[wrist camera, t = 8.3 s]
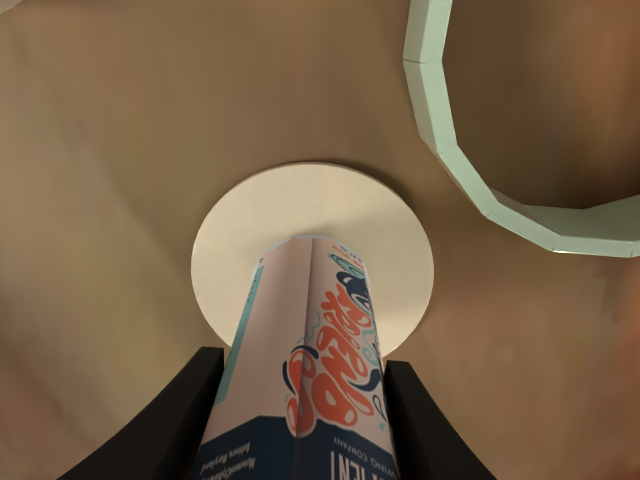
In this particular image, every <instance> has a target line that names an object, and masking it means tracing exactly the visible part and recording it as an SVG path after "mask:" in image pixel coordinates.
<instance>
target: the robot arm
mask: <svg viewBox="0 0 640 480" xmlns="http://www.w3.org/2000/svg"><path fill="white" fill-rule="evenodd" d="M223 372H224V348H217V347H204V346H203V347H201V348H200V349H199V350H198V351H197V352H196V353H195V355H194V356H193V357H192V358H191V359H190V360H189V362H188V363H187V364H186V365H185V366H184V367H183V368H182V370H181V371H180V372H179V373H178V374H177V375H176V376H175V377H174V378H173V379H172V381H171V382H170V383H169V384H168V385H167V386H166V387H165V388H164V389H163V390H162V391H161V392H160V393H159V394H158V395H157V396H156V397H155V398H154V399H153V400H152V401H151V402H150V403H149V404H148V405H147V406H146V407H145V408H144V409H143V410H142V411H141V412H140V413H139V414H137V415H136V416H135V417H134V418H133V419H132V420H131V421H130V422H129V423H128V424H127V425H126V426H124V427H123V428H122V429H121V430H120V431H119V432H118V433H116V434H115V435H114V436H113V437H112V438H111V439H109V440H108V441H107V442H106V443H104V444H103V445H102V446H101V447H99V448H98V449H97V450H96V451H94V452H93V453H92V454H90V455H89V456H88V457H86V458H85V459H84V460H82V461H81V462H80V463H78V464H77V465H76V466H74V467H73V468H72V469H70V470H69V471H68V472H66V473H65V474H63V475H62V476H61V477H59V478H58V479H56V480H188V479H189V476H190V473H191V470H192V467H193V464H194V461H195V457H196V454H197V451H198V448H199V445H200V442H201V439H202V436H203V433H204V430H205V427H206V424H207V421H208V418H209V415H210V411H211V408H212V405H213V402H214V399H215V396H216V393H217V390H218V387H219V384H220V381H221V378H222V375H223ZM384 380H385V386H386V392H387V398H388V404H389V409H390V414H391V419H392V425H393V430H394V435H395V440H396V446H397V452H398V458H399V463H400V469H401V475H402V480H497V479H496V478H495V477H494V476H493V475H492V474H491V472H490V471H489V470H488V469H487V468H486V467H485V466H484V465H483V464H482V462H481V461H480V460H479V459H478V458H477V457H476V456H475V454H474V453H473V452H472V451H471V450H470V448H469V447H468V446H467V445H466V443H465V442H464V441H463V440H462V438H461V437H460V436H459V435H458V433H457V432H456V431H455V429H454V428H453V427H452V426H451V424H450V423H449V421H448V420H447V419H446V417H445V416H444V415H443V413H442V412H441V410H440V409H439V408H438V406H437V405H436V403H435V402H434V400H433V399H432V397H431V396H430V394H429V393H428V391H427V390H426V388H425V387H424V385H423V384H422V382H421V381H420V379H419V378H418V376H417V374H416V373H415V371H414V369H413V368H412V366H411V365H410V364H409V362H404V361H391V360H387V363H386V369H385V374H384Z"/></svg>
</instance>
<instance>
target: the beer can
mask: <svg viewBox="0 0 640 480" xmlns="http://www.w3.org/2000/svg"><path fill="white" fill-rule="evenodd" d="M188 480H402V475H401V469H400V463H399V458H398V452H397V446H396V440H395V435H394V430H393V425H392V419H391V414H390V409H389V404H388V398H387V392H386V386H385V380H384V369H383V363H382V357H381V351H380V345H379V340H378V334H377V328H376V322H375V316H374V310H373V304H372V298H371V292H370V282H369V275H368V273H367V270H366V268H365V265H364V263H363V262H362V260H361V259H360V257H359V256H358V255H357V254H356V253H355V252H354V251H353V250H352V249H350V248H349V247H347V246H346V245H344V244H343V243H341V242H339V241H337V240H334V239H332V238H329V237H325V236H320V235H300V236H294V237H290V238H288V239H285V240H282V241H280V242H278V243H277V244H275V245H273V246H272V247H271V248H269V249H268V250H267V251H266V252H265V253H264V254H263V255H262V256H261V258H260V259H259V260H258V262H257V264H256V267H255V269H254V271H253V274H252V280H251V288H250V291H249V294H248V297H247V300H246V303H245V306H244V309H243V312H242V315H241V318H240V322H239V325H238V328H237V331H236V334H235V337H234V340H233V343H232V346H231V349H230V352H229V355H228V359H227V362H226V365H225V368H224V372H223V375H222V378H221V381H220V384H219V387H218V390H217V393H216V396H215V399H214V402H213V405H212V408H211V411H210V415H209V418H208V421H207V424H206V427H205V430H204V433H203V436H202V439H201V442H200V445H199V448H198V451H197V454H196V457H195V461H194V464H193V467H192V470H191V473H190V476H189V479H188Z"/></svg>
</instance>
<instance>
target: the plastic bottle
mask: <svg viewBox="0 0 640 480" xmlns="http://www.w3.org/2000/svg"><path fill="white" fill-rule="evenodd" d="M21 1H22V0H0V14H1V13H3V12H5V11H7V10H9V9H11V8H13V7H15V6H16V5H17V4H19V3H20V2H21Z"/></svg>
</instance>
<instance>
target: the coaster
mask: <svg viewBox="0 0 640 480" xmlns="http://www.w3.org/2000/svg"><path fill="white" fill-rule="evenodd" d="M300 235H320V236H325V237H329V238H332V239H334V240H337V241H339V242H341V243H343V244H344V245H346V246H347V247H349V248H350V249H352V250H353V251H354V252H355V253H356V254H357V255H358V256H359V257H360V259H361V260H362V262H363V263H364V265H365V268H366V270H367V273H368V275H369V282H370V292H371V298H372V304H373V310H374V316H375V322H376V328H377V334H378V340H379V345H380V351H381V357H382V358H383V357H385V356H386V355H387V354H389V353H390V352H392V351H393V350H394V349H396V348H397V347H398V346H399V345H400V344H401V343H402V342H403V341H404V340H406V338H407V337H408V336H409V335H410V334H411V333H412V331H413V330H414V329H415V328H416V326H417V324H418V323H419V321H420V320H421V318H422V316H423V314H424V312H425V310H426V308H427V306H428V303H429V299H430V296H431V293H432V287H433V280H434V263H433V257H432V251H431V247H430V244H429V241H428V238H427V235H426V233H425V231H424V229H423V227H422V225H421V223H420V221H419V219H418V218H417V216H416V215H415V213H414V212H413V211H412V209H411V208H410V206H409V205H408V204H407V203H406V202H405V201H404V200H403V199H402V198H401V197H400V196H399V195H398V194H397V193H396V192H394V191H393V190H392V189H391V188H390V187H388V186H387V185H386V184H384V183H382V182H381V181H379V180H377V179H376V178H374V177H372V176H370V175H368V174H366V173H363V172H361V171H359V170H356V169H353V168H350V167H346V166H343V165H339V164H332V163H325V162H297V163H288V164H283V165H279V166H275V167H271V168H268V169H266V170H263V171H261V172H258V173H255V174H253V175H252V176H250V177H248V178H246V179H244V180H243V181H241V182H239V183H238V184H237V185H235V186H234V187H233V188H231V189H230V190H229V191H227V192H226V193H225V194H224V195H223V196H222V197H221V198H220V199H219V201H218V202H217V203H216V204H215V205H214V207H213V208H212V209H211V211H210V212H209V213H208V215H207V216H206V218H205V219H204V221H203V223H202V225H201V227H200V229H199V231H198V234H197V237H196V240H195V243H194V246H193V252H192V258H191V276H192V284H193V289H194V293H195V296H196V300H197V302H198V304H199V307H200V309H201V311H202V313H203V315H204V317H205V318H206V320H207V321H208V323H209V325H210V326H211V327H212V328H213V330H214V331H215V332H216V333H217V335H218V336H219V337H220V338H221V339H222V340H223V341H224V342H226V343H227V344H228V345H229V346H230V347H231V346H232V343H233V340H234V337H235V334H236V331H237V328H238V325H239V322H240V318H241V315H242V312H243V309H244V306H245V303H246V300H247V297H248V294H249V291H250V288H251V280H252V274H253V271H254V269H255V267H256V264H257V262H258V260H259V259H260V258H261V256H262V255H263V254H264V253H265V252H266V251H267V250H268V249H269V248H271V247H272V246H273V245H275V244H277V243H278V242H280V241H282V240H285V239H288V238H290V237H294V236H300Z"/></svg>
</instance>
